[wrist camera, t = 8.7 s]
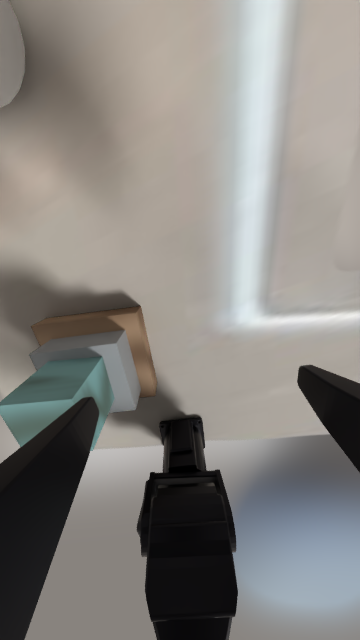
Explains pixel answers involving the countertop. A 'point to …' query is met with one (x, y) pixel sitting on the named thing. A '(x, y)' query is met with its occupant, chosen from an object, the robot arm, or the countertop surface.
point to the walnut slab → (107, 322)
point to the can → (10, 54)
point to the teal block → (56, 396)
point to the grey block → (113, 354)
